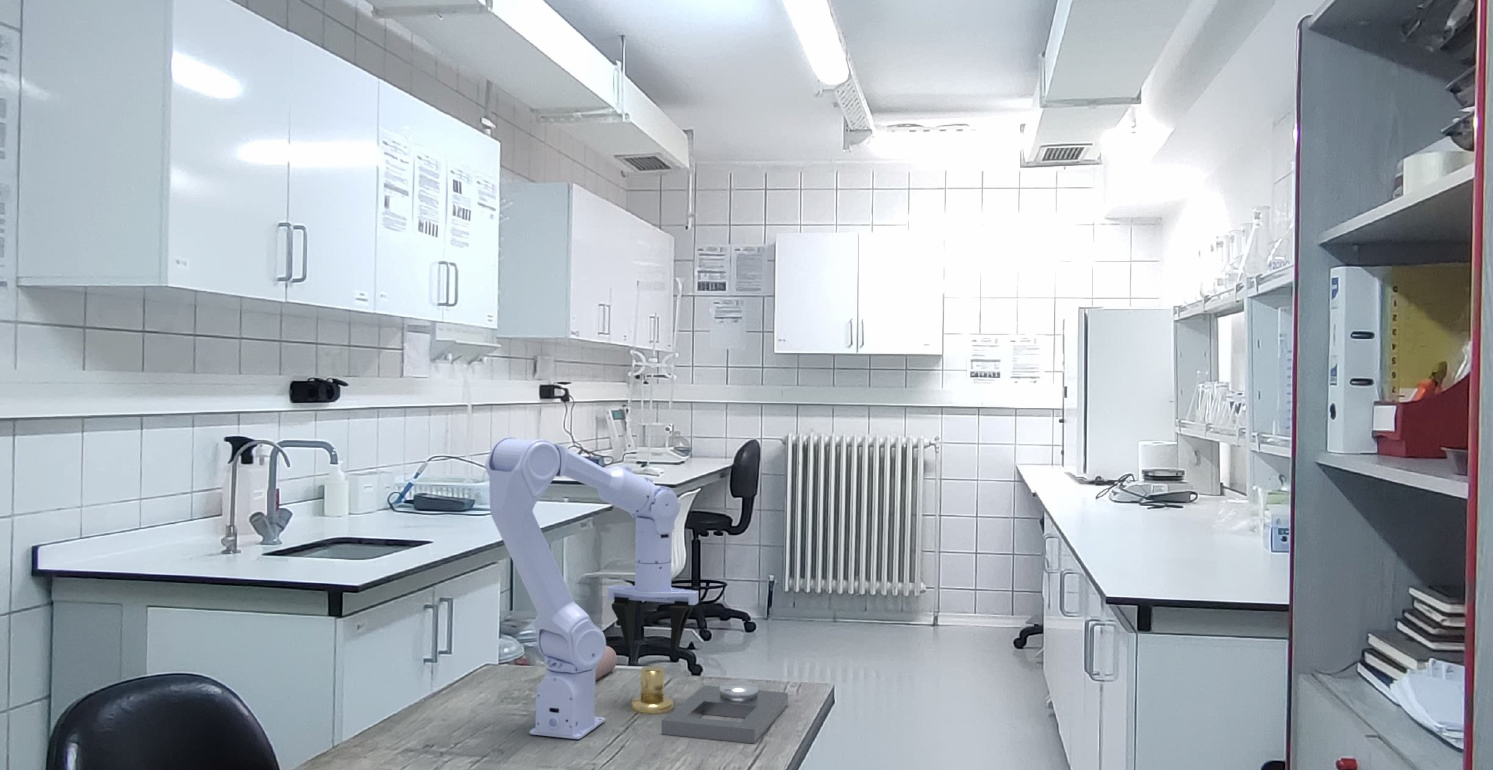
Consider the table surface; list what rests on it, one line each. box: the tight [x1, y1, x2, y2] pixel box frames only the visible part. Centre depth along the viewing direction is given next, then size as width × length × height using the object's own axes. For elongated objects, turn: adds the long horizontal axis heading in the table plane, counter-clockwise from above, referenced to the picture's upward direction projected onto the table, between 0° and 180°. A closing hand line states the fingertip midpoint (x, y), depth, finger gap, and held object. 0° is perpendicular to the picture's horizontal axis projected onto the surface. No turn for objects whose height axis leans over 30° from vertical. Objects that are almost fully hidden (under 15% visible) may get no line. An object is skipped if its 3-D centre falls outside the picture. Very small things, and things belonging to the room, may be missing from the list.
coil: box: [595, 645, 618, 682], centre depth 188 cm, size 5×5×18 cm
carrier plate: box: [661, 680, 789, 744], centre depth 167 cm, size 20×14×4 cm
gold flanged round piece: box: [630, 665, 674, 715], centre depth 173 cm, size 6×6×6 cm
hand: (652, 647), depth 173 cm, fingers open, 7 cm apart
